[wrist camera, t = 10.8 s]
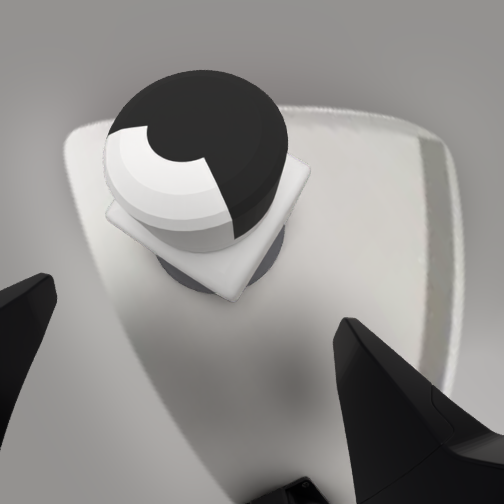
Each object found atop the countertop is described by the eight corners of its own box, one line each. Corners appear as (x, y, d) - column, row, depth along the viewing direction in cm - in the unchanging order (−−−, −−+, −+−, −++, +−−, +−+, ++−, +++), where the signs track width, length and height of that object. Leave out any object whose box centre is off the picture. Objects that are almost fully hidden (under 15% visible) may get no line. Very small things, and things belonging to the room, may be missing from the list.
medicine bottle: (203, 161, 21) (172, 30, 9) (291, 212, 20) (347, 101, 9) (144, 245, 20) (42, 172, 8) (235, 304, 19) (223, 299, 7)
